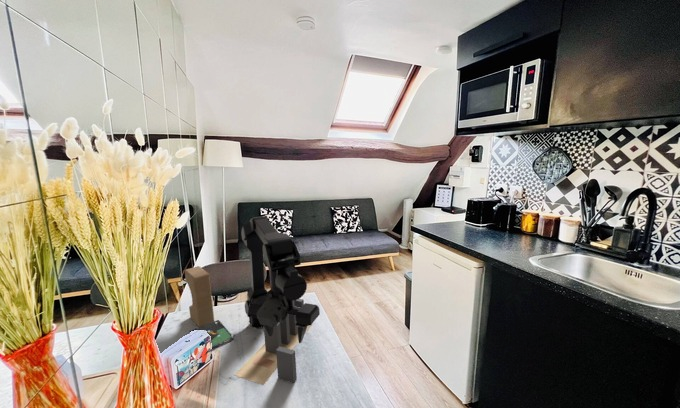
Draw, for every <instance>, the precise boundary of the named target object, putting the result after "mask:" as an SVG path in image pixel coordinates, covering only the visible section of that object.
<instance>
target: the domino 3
mask: <svg viewBox="0 0 680 408" xmlns="http://www.w3.org/2000/svg"><path fill="white" fill-rule="evenodd" d="M276 357H277V369H276V372H277V379H279V380H282V381H284V382H288V383H291V384H295V382H297V378H298V377H297V364H296V363H297V362H296V361H297V360H296V350H294V349H292V350H291V349H287V348H284V347H280V346H279V347H278V348H277V350H276Z"/></svg>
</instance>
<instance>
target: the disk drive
mask: <svg viewBox="0 0 680 408" xmlns="http://www.w3.org/2000/svg"><path fill="white" fill-rule="evenodd" d="M194 330H206V331H207V333H208V334H209V335H210V336H211V343H212V350H211V351H213V350H215V349H217V348H220V347H222V346H223V345H226V344H228V343H230V342H233V341H234V340H235V339H234V337H233V334H232V333H230V331H229V330H228V329H227V328H226V327H225V325H224V324H223V323H222V322H221V321H220V320H219V319H217V320H214V322H212V323H209V324H206V325H204V326H202V327H201V328H193V329H191V330H189V332H191V331H194Z"/></svg>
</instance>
